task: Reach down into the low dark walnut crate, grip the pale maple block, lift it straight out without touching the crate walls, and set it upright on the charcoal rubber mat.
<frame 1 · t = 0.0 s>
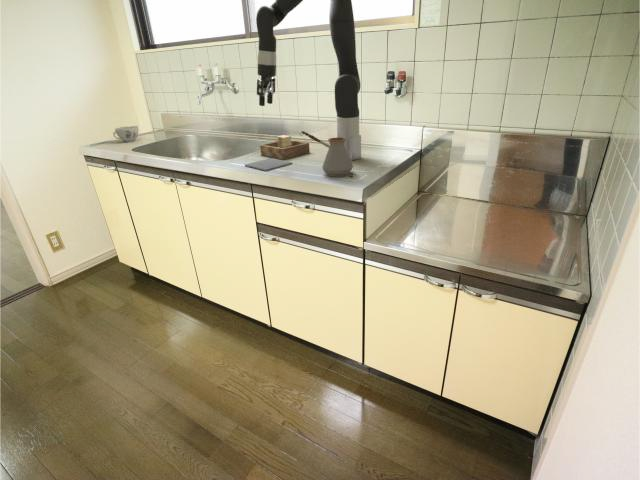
hand: (265, 104, 163), 22 cm above the counter, tool pointing down, fingers open, 8 cm apart
coffee pot: (326, 173, 144), on the counter
maple block: (284, 145, 175), in the walnut crate
teacup: (128, 141, 224), on the counter
walnut crate: (285, 153, 176), on the counter
charcoal mat: (268, 165, 158), on the counter
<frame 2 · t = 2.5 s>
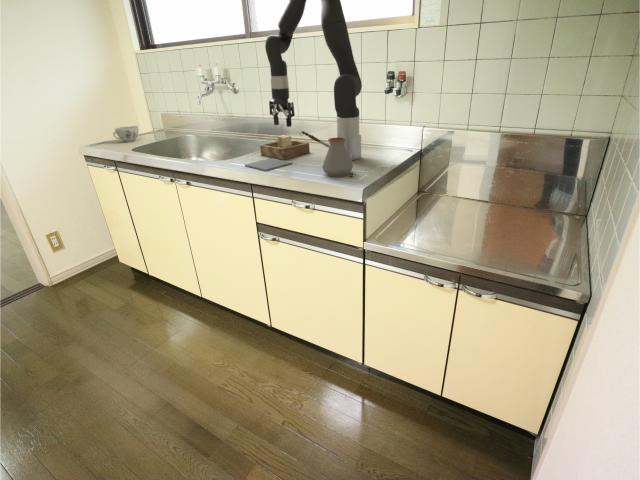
hand: (282, 125, 171), 13 cm above the counter, tool pointing down, fingers open, 8 cm apart
nothing on the counter moved.
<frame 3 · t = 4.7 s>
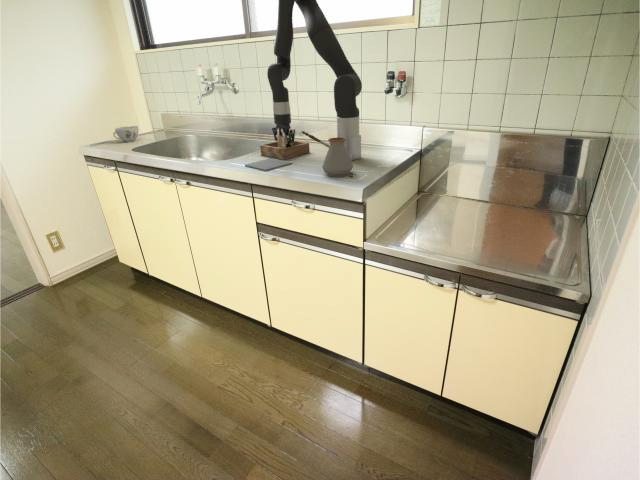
hand: (285, 150, 176), 1 cm above the counter, tool pointing down, fingers closed on maple block, 4 cm apart
maple block: (284, 145, 175), in the walnut crate, touching gripper
everything else where it was.
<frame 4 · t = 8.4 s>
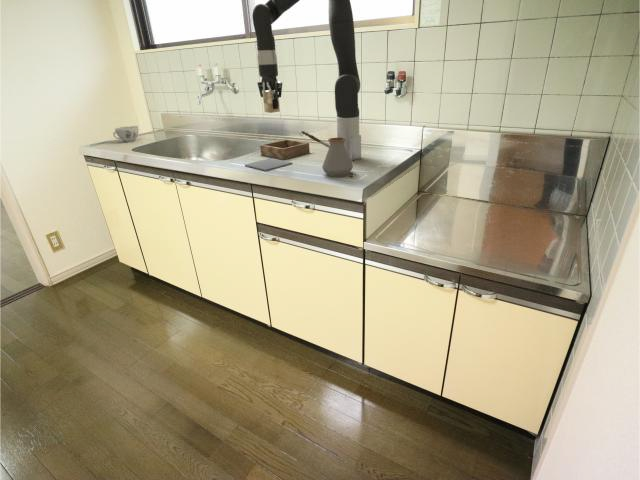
hand: (271, 108, 158), 21 cm above the counter, tool pointing down, fingers closed on maple block, 4 cm apart
maple block: (271, 101, 157), point 24 cm above the counter, touching gripper
everything else where it was.
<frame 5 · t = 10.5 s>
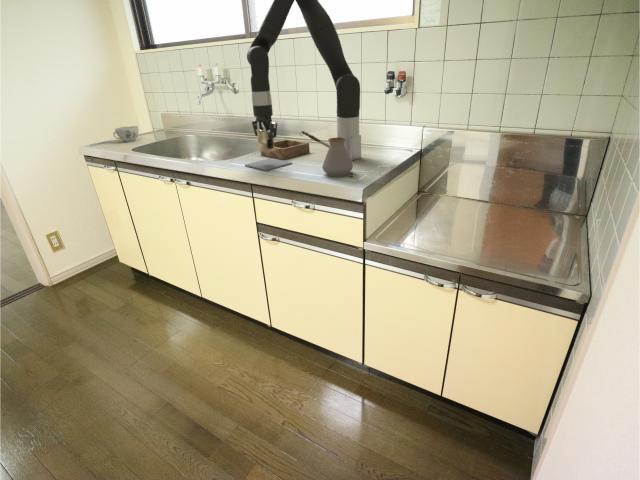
hand: (266, 147, 155), 7 cm above the counter, tool pointing down, fingers closed on maple block, 4 cm apart
maple block: (265, 140, 154), point 10 cm above the counter, touching gripper
everything else where it was.
when the fingers open (3 cm above the counter, at t = 12.1 s): maple block drops 2 cm, resting on charcoal mat.
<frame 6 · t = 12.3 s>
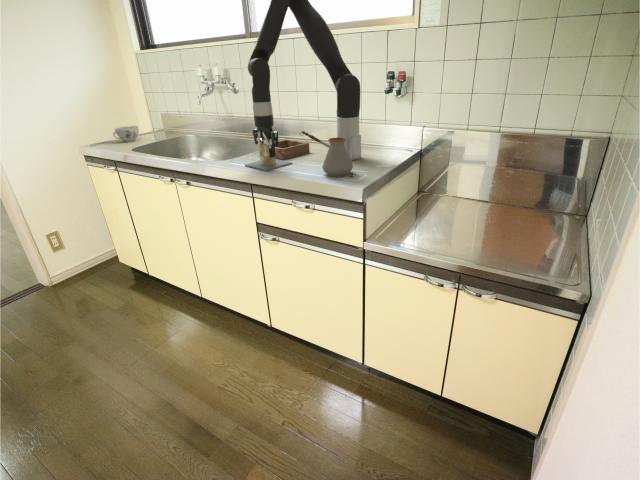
hand: (267, 155, 157), 4 cm above the counter, tool pointing down, fingers open, 6 cm apart
maple block: (267, 154, 156), on the charcoal mat, point 5 cm above the counter
everything else where it was.
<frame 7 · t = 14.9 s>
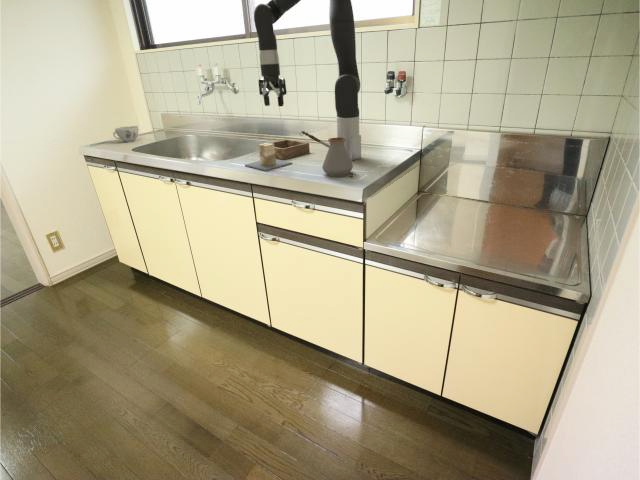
hand: (274, 105, 158), 22 cm above the counter, tool pointing down, fingers open, 8 cm apart
nothing on the counter moved.
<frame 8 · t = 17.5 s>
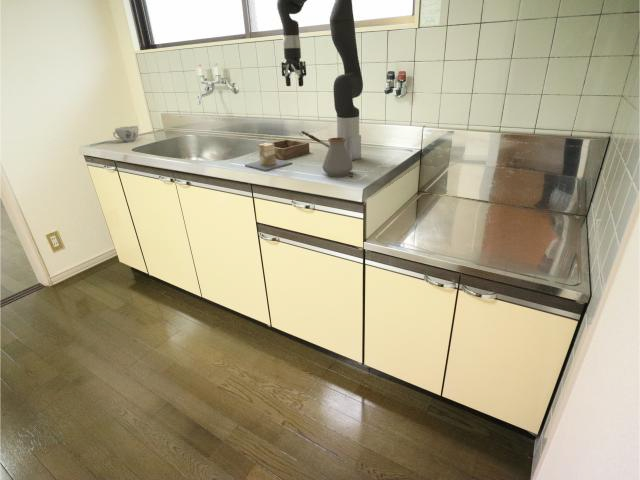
hand: (294, 86, 177), 28 cm above the counter, tool pointing down, fingers open, 8 cm apart
nothing on the counter moved.
at the end: maple block inside the target area on the charcoal mat (0.0 cm from its centre), point 4.6 cm above the charcoal mat's base; maple block tilted 0°; the gripper is holding nothing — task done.
